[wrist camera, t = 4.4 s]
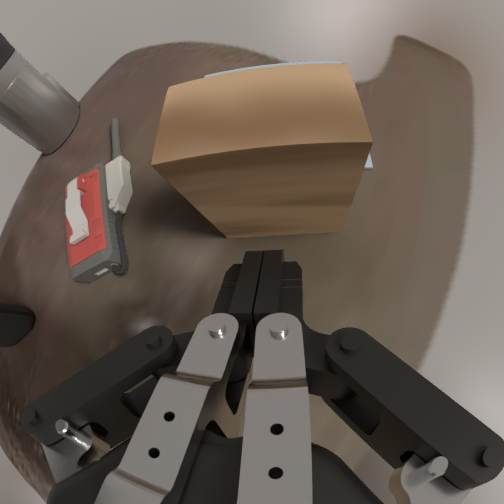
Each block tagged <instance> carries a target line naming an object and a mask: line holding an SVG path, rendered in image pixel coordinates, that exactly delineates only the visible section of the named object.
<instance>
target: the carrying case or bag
mask: <svg viewBox="0 0 504 504" xmlns="http://www.w3.org/2000/svg"><path fill="white" fill-rule="evenodd" d="M34 321H35V318H34V315H33V314H32V313H31V312H30V311H29V310H28V309H27V308H24V307H21V306H14V305H8V304H1V303H0V347H10V346H13V345H15V344H16V343H17V342H18V341H19V340H20V339H21V338H22V337H23V336H24V335H25V334H26V333H27V332H28V331H29V330H30V329H31V328H32V325H33V324H34Z"/></svg>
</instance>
